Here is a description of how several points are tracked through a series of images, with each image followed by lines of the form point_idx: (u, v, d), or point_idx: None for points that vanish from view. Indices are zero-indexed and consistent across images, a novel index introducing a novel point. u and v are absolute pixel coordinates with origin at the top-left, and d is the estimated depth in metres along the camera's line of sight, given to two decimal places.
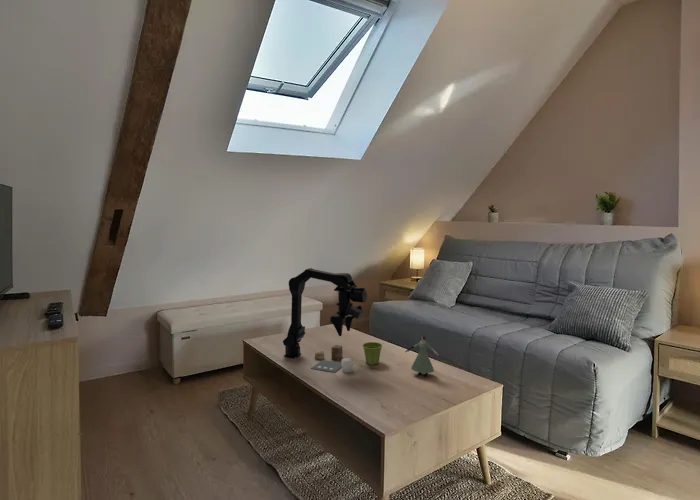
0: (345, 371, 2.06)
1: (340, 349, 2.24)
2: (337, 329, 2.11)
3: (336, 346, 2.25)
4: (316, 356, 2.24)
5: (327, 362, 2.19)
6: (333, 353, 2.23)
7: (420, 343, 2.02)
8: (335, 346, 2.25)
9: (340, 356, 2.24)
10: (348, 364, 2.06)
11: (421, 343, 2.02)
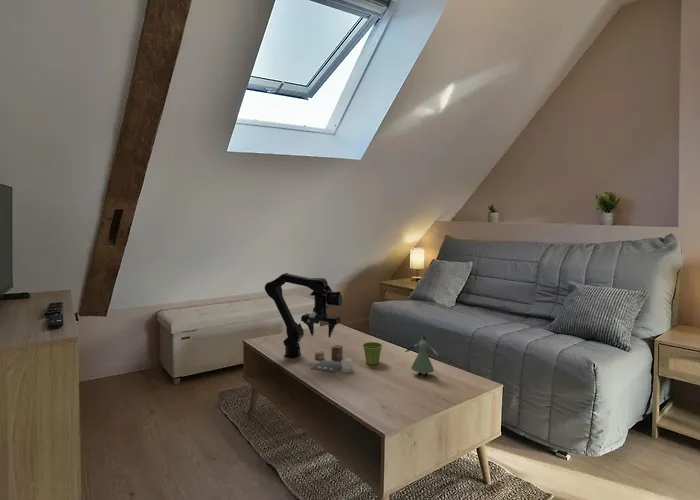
0: (345, 371, 2.06)
1: (340, 349, 2.24)
2: None
3: (336, 346, 2.25)
4: (316, 356, 2.24)
5: (327, 362, 2.19)
6: (333, 353, 2.23)
7: (420, 343, 2.02)
8: (335, 346, 2.25)
9: (340, 356, 2.24)
10: (348, 364, 2.06)
11: (421, 343, 2.02)
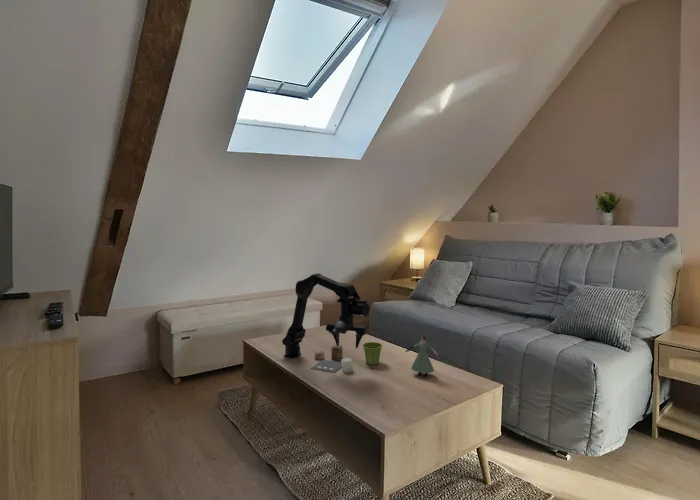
0: (345, 371, 2.06)
1: (340, 349, 2.24)
2: None
3: (336, 346, 2.25)
4: (316, 356, 2.24)
5: (327, 362, 2.19)
6: (333, 353, 2.23)
7: (420, 343, 2.02)
8: (335, 346, 2.25)
9: (340, 356, 2.24)
10: (348, 364, 2.06)
11: (421, 343, 2.02)
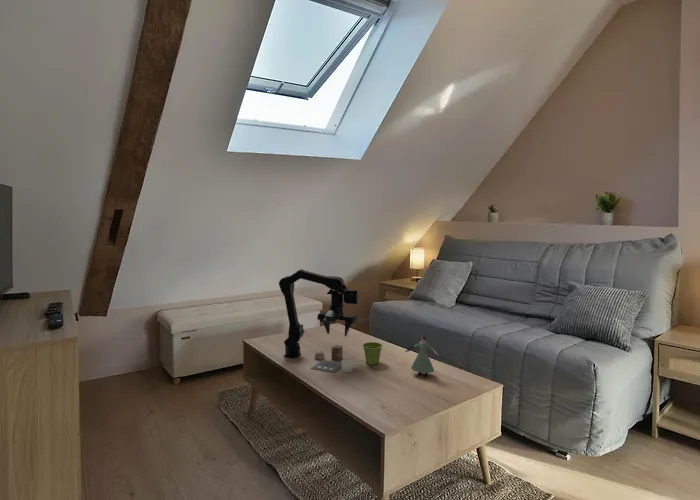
0: (345, 371, 2.06)
1: (340, 349, 2.24)
2: None
3: (336, 346, 2.25)
4: (316, 356, 2.24)
5: (327, 362, 2.19)
6: (333, 353, 2.23)
7: (420, 343, 2.02)
8: (335, 346, 2.25)
9: (340, 356, 2.24)
10: (348, 364, 2.06)
11: (421, 343, 2.02)
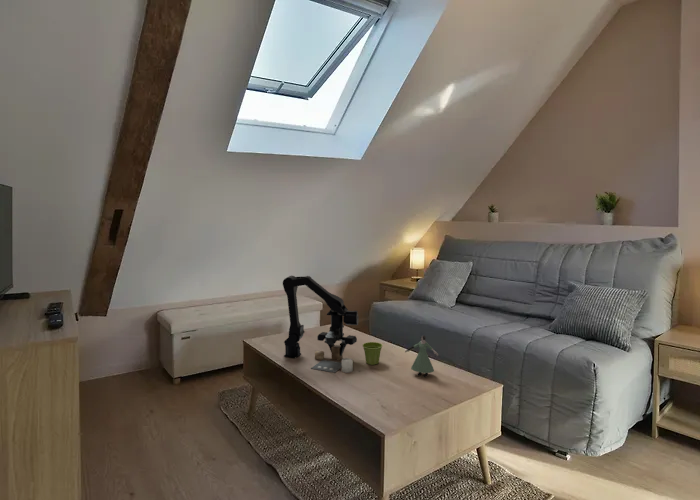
0: (345, 371, 2.06)
1: None
2: None
3: (336, 346, 2.25)
4: (316, 356, 2.24)
5: (327, 362, 2.19)
6: (333, 353, 2.23)
7: (420, 343, 2.02)
8: (335, 346, 2.25)
9: (340, 356, 2.24)
10: (348, 364, 2.06)
11: (421, 343, 2.02)
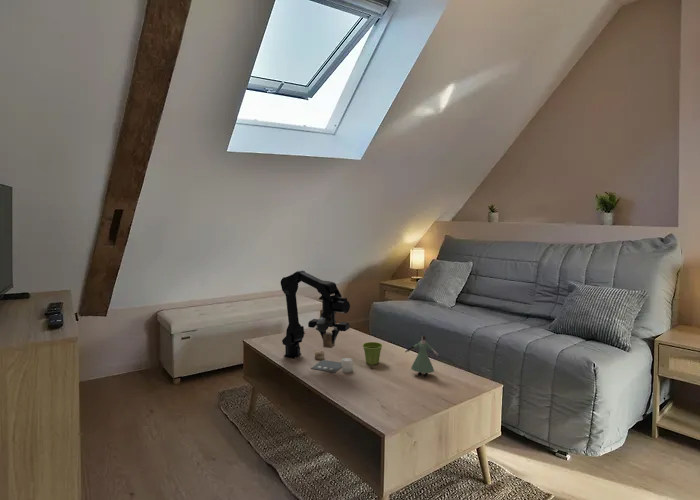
0: (345, 371, 2.06)
1: None
2: None
3: (328, 333, 2.13)
4: (316, 356, 2.24)
5: (327, 362, 2.19)
6: (325, 341, 2.12)
7: (420, 343, 2.02)
8: (327, 333, 2.13)
9: (332, 344, 2.12)
10: (348, 364, 2.06)
11: (421, 343, 2.02)
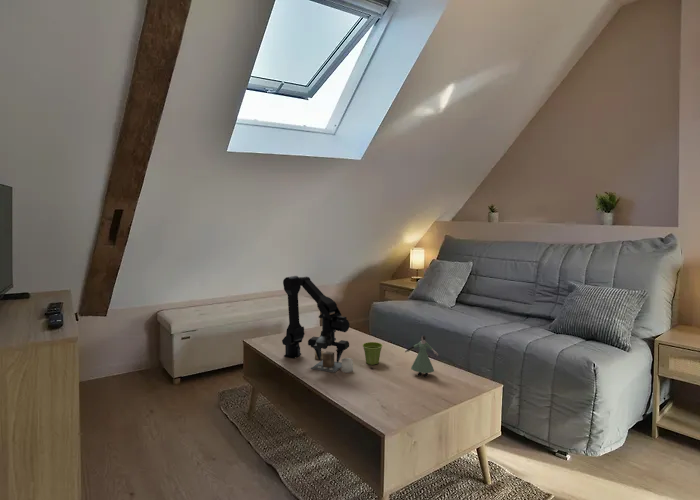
0: (345, 371, 2.06)
1: (332, 356, 2.13)
2: None
3: (328, 352, 2.14)
4: (316, 356, 2.24)
5: None
6: (324, 360, 2.12)
7: (420, 343, 2.02)
8: (326, 352, 2.14)
9: (332, 363, 2.13)
10: (348, 364, 2.06)
11: (421, 343, 2.02)
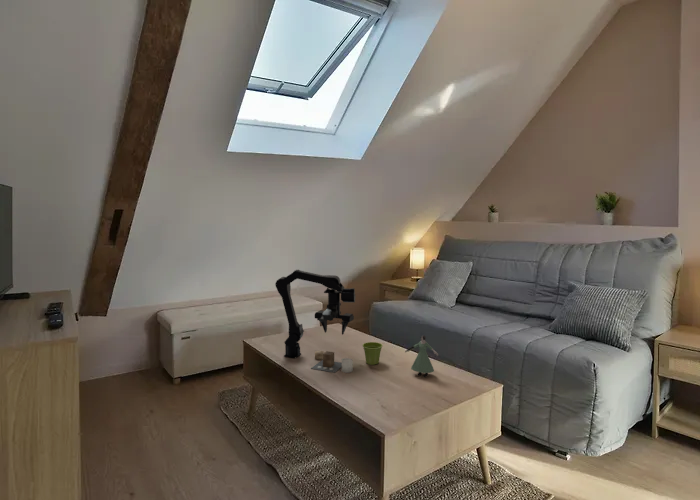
0: (345, 371, 2.06)
1: (332, 356, 2.13)
2: None
3: (328, 352, 2.14)
4: (316, 356, 2.24)
5: None
6: (324, 360, 2.12)
7: (420, 343, 2.02)
8: (326, 352, 2.14)
9: (332, 363, 2.13)
10: (348, 364, 2.06)
11: (421, 343, 2.02)
